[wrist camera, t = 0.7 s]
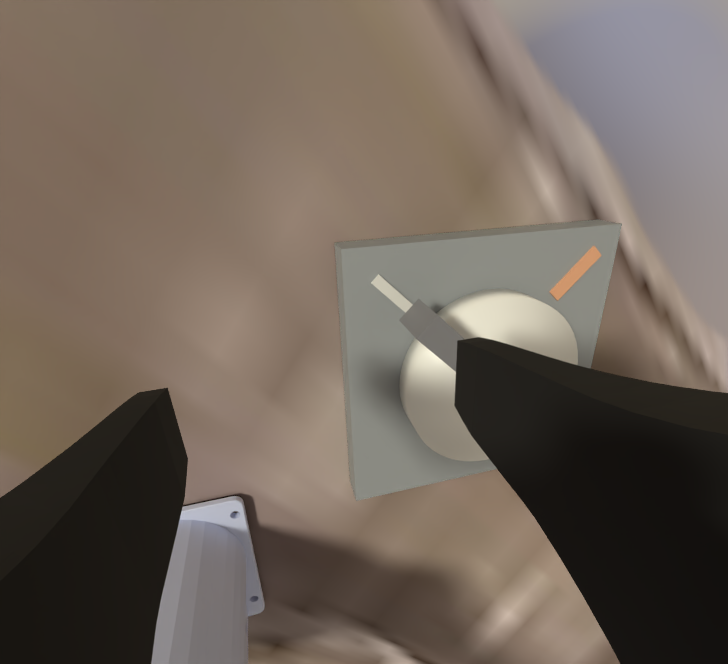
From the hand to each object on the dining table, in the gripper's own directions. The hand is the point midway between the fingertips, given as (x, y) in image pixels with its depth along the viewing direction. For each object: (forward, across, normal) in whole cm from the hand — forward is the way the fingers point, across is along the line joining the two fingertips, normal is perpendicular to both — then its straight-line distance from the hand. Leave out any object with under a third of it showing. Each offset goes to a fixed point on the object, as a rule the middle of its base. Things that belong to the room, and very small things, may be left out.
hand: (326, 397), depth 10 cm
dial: (+8, -8, +4) cm, 12 cm away
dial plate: (+9, -9, +5) cm, 14 cm away
